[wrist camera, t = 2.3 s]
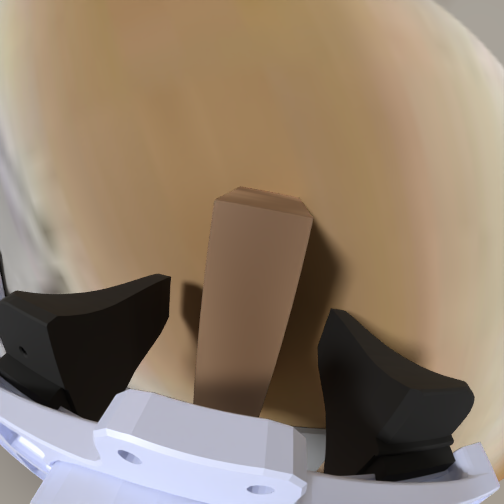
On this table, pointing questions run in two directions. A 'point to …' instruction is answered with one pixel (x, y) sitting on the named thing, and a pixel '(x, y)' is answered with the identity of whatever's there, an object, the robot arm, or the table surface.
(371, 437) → the robot arm
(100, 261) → the table surface
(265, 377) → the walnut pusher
